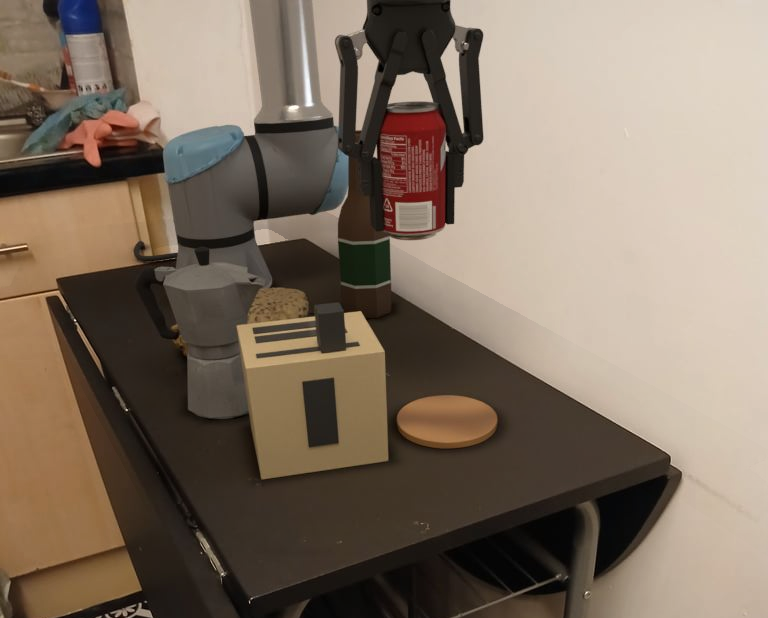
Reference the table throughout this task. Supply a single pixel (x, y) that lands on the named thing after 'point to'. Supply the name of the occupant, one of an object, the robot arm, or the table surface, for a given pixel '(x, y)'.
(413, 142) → the soda can
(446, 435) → the coaster
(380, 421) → the toaster
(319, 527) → the table surface
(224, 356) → the coffeepot
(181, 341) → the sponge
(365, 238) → the beer bottle
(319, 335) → the browning slider
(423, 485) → the table surface
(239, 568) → the table surface
